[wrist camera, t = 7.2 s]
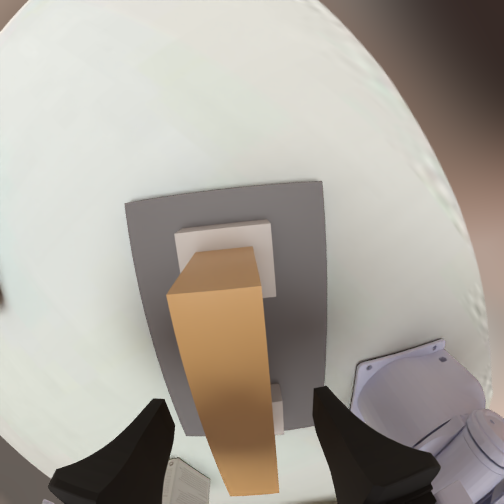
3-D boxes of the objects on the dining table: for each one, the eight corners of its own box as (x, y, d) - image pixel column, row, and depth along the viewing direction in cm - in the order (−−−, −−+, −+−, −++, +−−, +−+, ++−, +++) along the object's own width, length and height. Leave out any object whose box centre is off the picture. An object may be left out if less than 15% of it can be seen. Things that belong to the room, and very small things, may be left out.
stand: (317, 181, 16) (343, 179, 12) (318, 417, 21) (330, 452, 17) (130, 202, 16) (97, 207, 12) (187, 428, 21) (180, 464, 16)
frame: (252, 246, 14) (261, 285, 8) (270, 429, 17) (279, 492, 11) (195, 252, 14) (166, 294, 8) (231, 432, 17) (230, 496, 11)
